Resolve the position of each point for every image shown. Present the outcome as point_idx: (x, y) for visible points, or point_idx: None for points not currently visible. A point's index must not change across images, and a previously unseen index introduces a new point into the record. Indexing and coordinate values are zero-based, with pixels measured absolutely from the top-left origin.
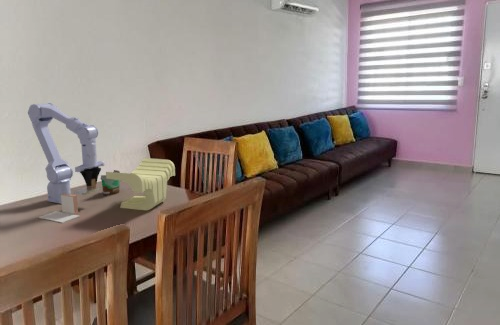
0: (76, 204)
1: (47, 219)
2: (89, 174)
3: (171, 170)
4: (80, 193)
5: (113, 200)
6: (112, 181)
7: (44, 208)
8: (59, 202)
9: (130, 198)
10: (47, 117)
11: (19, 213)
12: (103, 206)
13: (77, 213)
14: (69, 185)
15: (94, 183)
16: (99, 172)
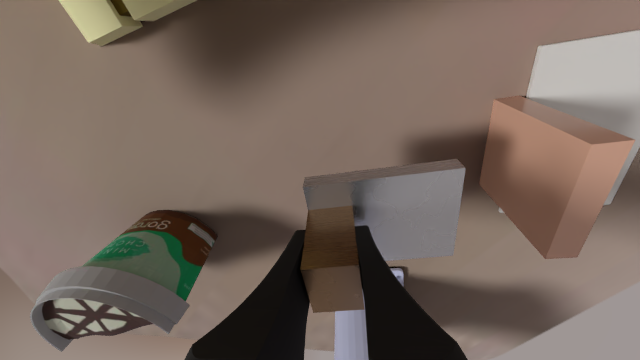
0: (541, 116)
1: (636, 148)
2: (418, 321)
3: None
4: (456, 199)
5: (222, 139)
6: (133, 261)
7: (472, 273)
8: (402, 279)
9: (137, 9)
10: None
11: (557, 291)
12: (321, 94)
13: (500, 99)
14: (350, 341)
15: (320, 233)
16: (230, 316)
